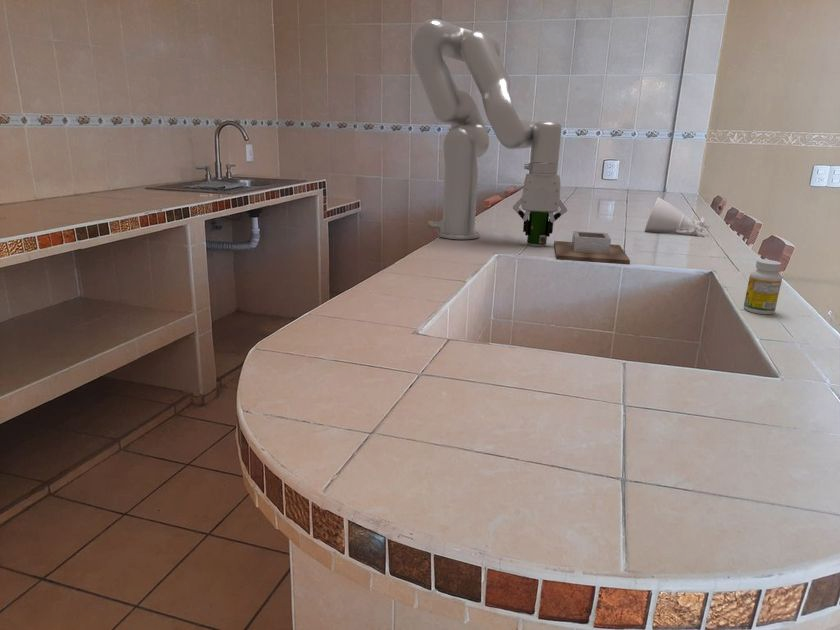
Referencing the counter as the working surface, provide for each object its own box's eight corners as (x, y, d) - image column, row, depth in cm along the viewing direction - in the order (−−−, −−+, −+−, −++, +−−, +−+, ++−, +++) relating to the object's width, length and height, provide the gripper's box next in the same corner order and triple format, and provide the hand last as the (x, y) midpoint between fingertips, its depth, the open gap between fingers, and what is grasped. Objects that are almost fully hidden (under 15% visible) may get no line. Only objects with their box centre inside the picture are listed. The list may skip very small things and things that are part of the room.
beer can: (549, 245, 169) (554, 203, 165) (537, 247, 166) (541, 204, 162) (535, 242, 173) (539, 200, 169) (522, 244, 170) (526, 201, 166)
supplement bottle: (771, 316, 111) (782, 266, 108) (739, 310, 114) (749, 261, 111) (777, 310, 115) (788, 261, 112) (746, 304, 118) (756, 257, 115)
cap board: (556, 259, 153) (558, 239, 151) (554, 244, 171) (555, 226, 170) (629, 264, 150) (632, 244, 148) (619, 248, 168) (621, 230, 167)
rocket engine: (718, 206, 189) (661, 189, 195) (708, 233, 184) (649, 215, 190) (707, 229, 199) (653, 213, 205) (697, 255, 194) (642, 237, 200)
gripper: (511, 168, 161) (506, 235, 166) (576, 171, 158) (569, 239, 164) (512, 166, 168) (507, 231, 173) (574, 169, 165) (567, 234, 171)
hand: (537, 234), depth 168 cm, fingers closed on beer can, 5 cm apart
